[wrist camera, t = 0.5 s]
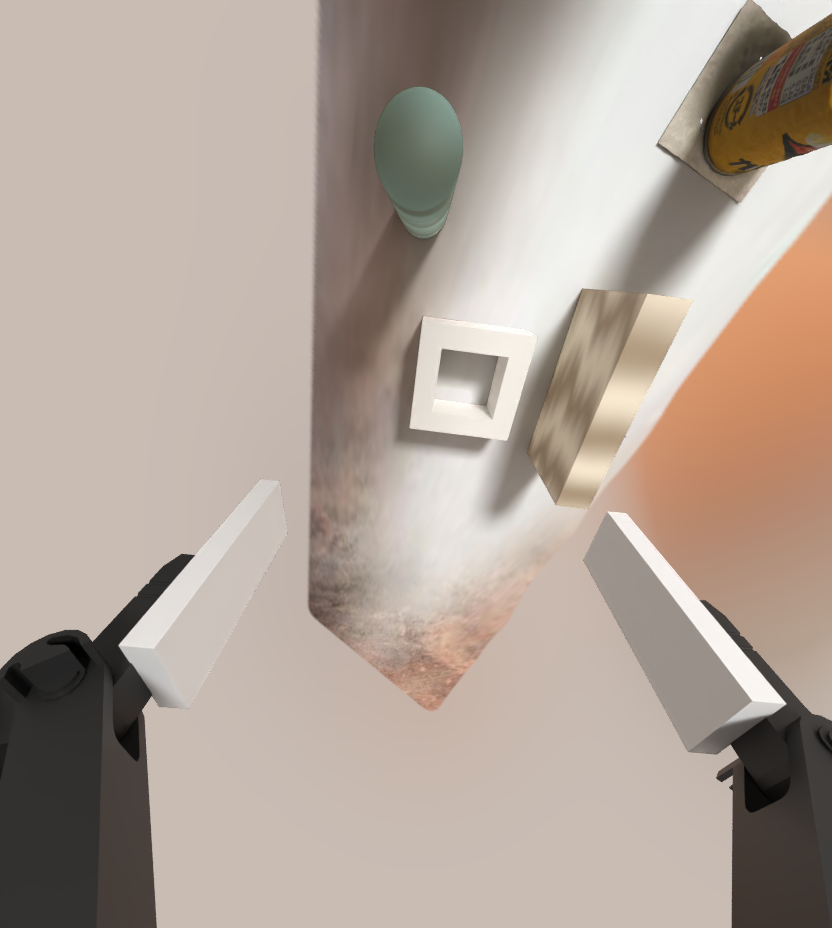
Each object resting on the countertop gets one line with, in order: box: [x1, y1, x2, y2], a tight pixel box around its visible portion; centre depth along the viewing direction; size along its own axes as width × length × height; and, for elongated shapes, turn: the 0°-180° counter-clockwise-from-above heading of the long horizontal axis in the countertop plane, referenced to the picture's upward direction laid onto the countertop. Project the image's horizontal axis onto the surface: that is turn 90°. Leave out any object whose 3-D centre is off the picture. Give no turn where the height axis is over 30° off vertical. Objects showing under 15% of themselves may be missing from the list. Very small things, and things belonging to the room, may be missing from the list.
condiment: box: [658, 0, 832, 202], centre depth 18 cm, size 7×8×12 cm
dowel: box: [374, 87, 463, 239], centre depth 20 cm, size 4×4×14 cm
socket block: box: [410, 316, 538, 441], centre depth 31 cm, size 10×10×4 cm
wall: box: [527, 289, 693, 509], centre depth 29 cm, size 17×3×10 cm, turn 173°
